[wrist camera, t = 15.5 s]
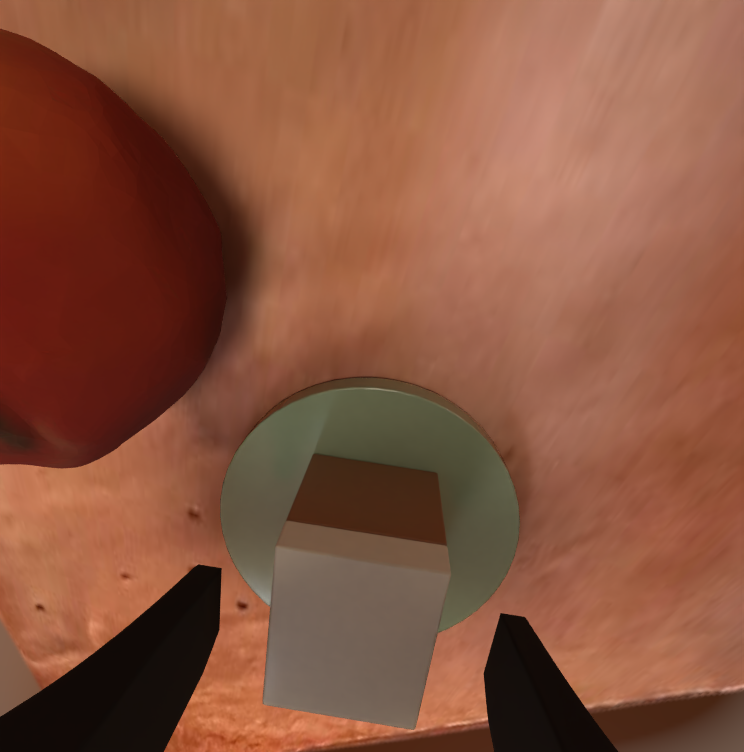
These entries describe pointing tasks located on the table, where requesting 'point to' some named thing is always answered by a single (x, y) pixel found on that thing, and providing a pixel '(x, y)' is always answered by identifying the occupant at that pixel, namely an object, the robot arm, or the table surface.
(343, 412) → the plate
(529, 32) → the table surface
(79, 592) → the table surface
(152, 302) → the tomato
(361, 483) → the cake slice
